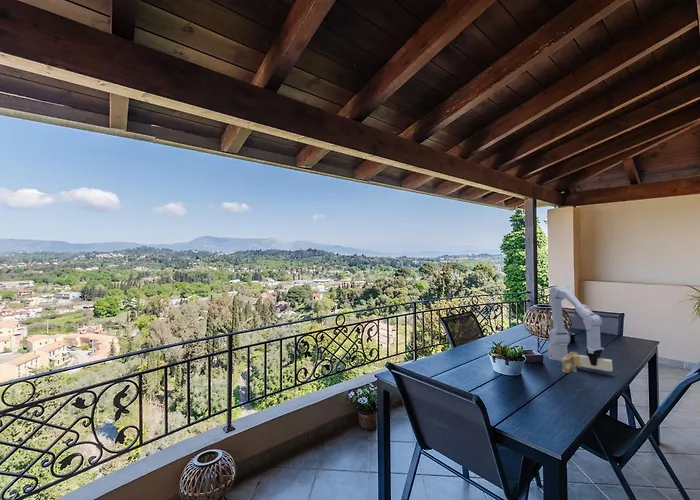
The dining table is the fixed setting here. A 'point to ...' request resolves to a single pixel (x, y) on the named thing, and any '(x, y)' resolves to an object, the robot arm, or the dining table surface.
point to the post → (569, 363)
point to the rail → (585, 362)
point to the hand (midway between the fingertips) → (594, 364)
